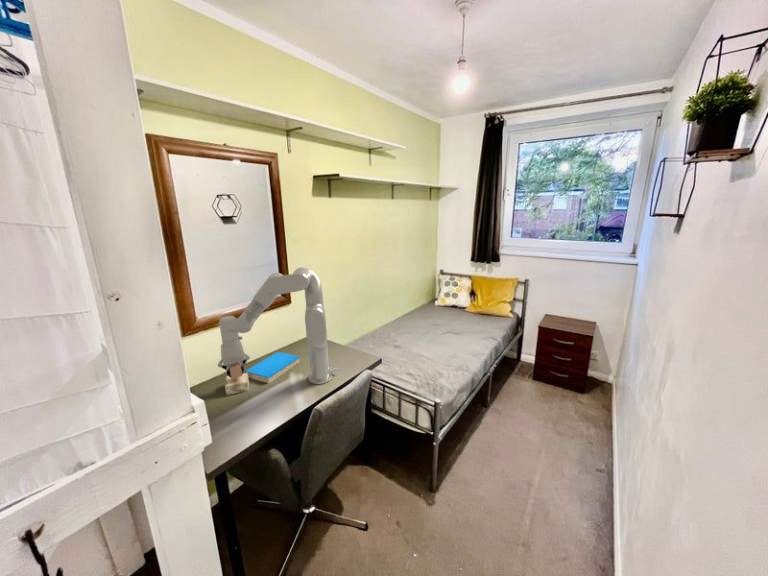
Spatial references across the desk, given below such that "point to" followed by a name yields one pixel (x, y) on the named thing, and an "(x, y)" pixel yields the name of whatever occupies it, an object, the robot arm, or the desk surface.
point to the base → (237, 384)
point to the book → (272, 367)
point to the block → (235, 370)
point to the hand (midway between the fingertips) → (235, 374)
